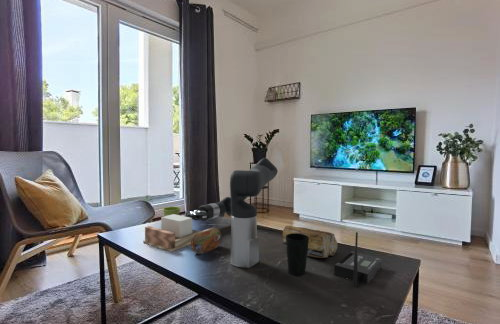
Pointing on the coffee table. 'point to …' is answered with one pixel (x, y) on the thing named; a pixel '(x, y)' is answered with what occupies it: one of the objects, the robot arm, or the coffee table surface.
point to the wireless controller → (358, 266)
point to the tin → (206, 240)
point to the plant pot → (171, 210)
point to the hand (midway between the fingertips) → (182, 218)
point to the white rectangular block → (177, 225)
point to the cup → (297, 253)
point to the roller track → (178, 243)
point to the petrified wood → (314, 241)
